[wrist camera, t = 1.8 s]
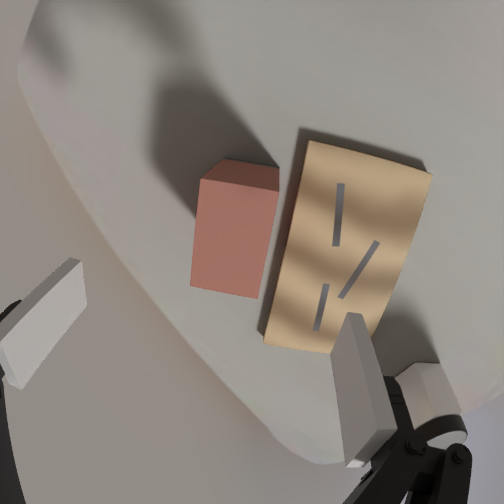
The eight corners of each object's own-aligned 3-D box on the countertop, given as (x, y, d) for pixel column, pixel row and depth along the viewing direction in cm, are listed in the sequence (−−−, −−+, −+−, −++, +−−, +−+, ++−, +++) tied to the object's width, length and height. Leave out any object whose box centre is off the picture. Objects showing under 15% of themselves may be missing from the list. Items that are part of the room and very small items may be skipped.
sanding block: (224, 157, 28) (200, 178, 20) (279, 167, 28) (279, 191, 20) (213, 238, 31) (190, 285, 23) (263, 247, 31) (257, 298, 23)
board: (308, 139, 26) (309, 140, 25) (427, 171, 26) (432, 174, 25) (263, 336, 36) (262, 343, 35) (360, 350, 36) (362, 357, 35)
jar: (386, 371, 37) (406, 445, 26) (441, 351, 35) (473, 419, 25) (390, 407, 40) (406, 472, 30) (439, 389, 39) (462, 451, 28)
